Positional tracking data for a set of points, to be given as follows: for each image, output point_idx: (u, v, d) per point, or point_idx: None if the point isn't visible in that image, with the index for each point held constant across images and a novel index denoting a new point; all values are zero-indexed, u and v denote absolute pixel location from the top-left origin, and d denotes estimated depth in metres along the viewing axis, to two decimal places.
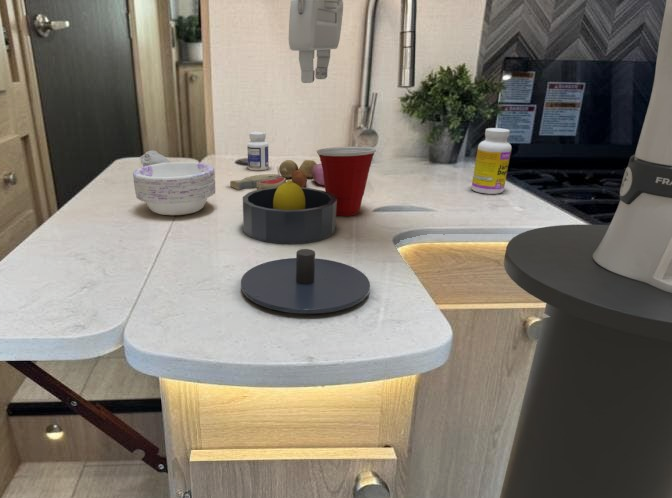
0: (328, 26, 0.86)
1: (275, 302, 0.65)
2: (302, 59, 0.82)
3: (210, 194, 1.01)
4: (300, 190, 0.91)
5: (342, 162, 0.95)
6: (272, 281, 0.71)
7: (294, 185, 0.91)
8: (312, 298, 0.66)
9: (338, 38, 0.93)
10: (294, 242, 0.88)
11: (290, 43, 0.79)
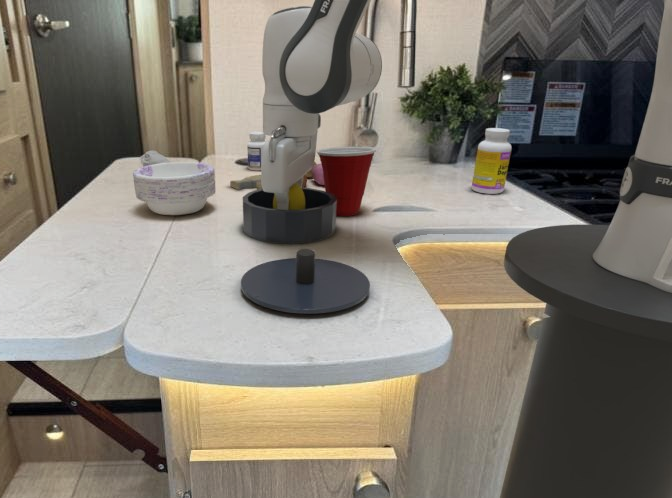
0: (301, 159, 0.90)
1: (275, 302, 0.65)
2: (277, 193, 0.87)
3: (210, 194, 1.01)
4: (300, 190, 0.91)
5: (342, 162, 0.95)
6: (272, 281, 0.71)
7: (294, 185, 0.91)
8: (312, 298, 0.66)
9: (313, 160, 0.97)
10: (294, 242, 0.88)
11: (262, 187, 0.83)
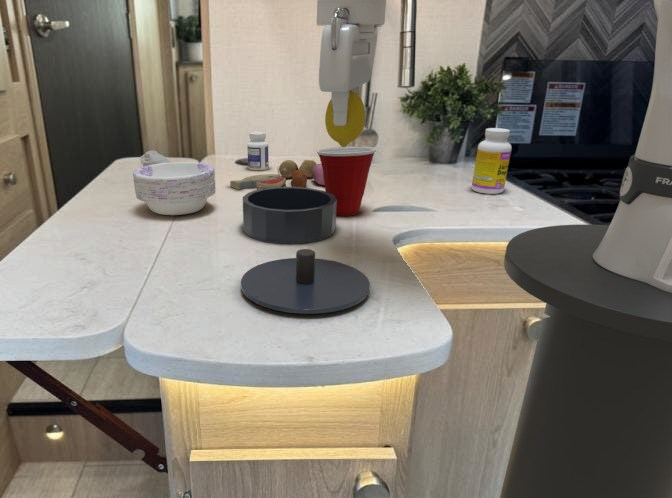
0: (362, 59, 0.73)
1: (275, 302, 0.65)
2: (335, 99, 0.71)
3: (210, 194, 1.01)
4: (360, 99, 0.74)
5: (342, 162, 0.95)
6: (272, 281, 0.71)
7: (353, 93, 0.74)
8: (312, 298, 0.66)
9: (371, 70, 0.81)
10: (294, 242, 0.88)
11: (321, 83, 0.66)
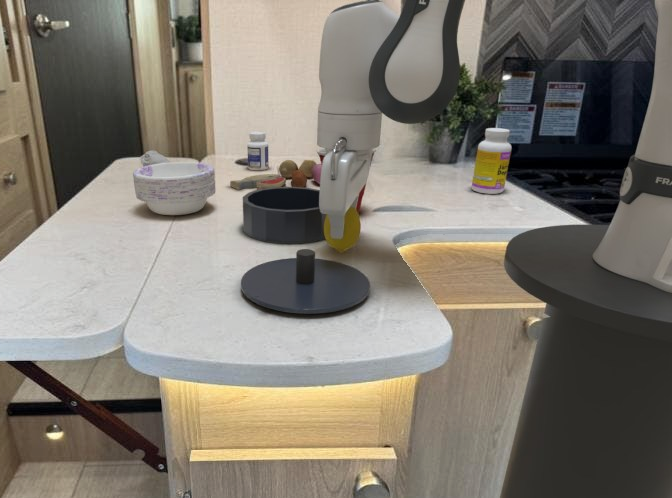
0: (359, 174, 0.79)
1: (275, 302, 0.65)
2: (332, 217, 0.75)
3: (210, 194, 1.01)
4: (356, 213, 0.80)
5: None
6: (272, 281, 0.71)
7: (349, 207, 0.80)
8: (312, 298, 0.66)
9: (367, 174, 0.87)
10: (294, 242, 0.88)
11: (321, 208, 0.72)
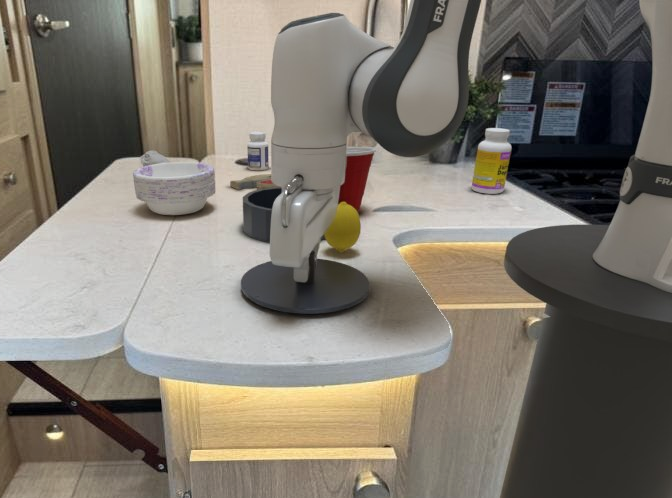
0: (322, 214, 0.67)
1: (275, 302, 0.65)
2: None
3: (210, 194, 1.01)
4: (356, 213, 0.80)
5: None
6: (272, 281, 0.71)
7: (349, 207, 0.80)
8: (312, 298, 0.66)
9: (335, 210, 0.75)
10: None
11: (272, 259, 0.60)
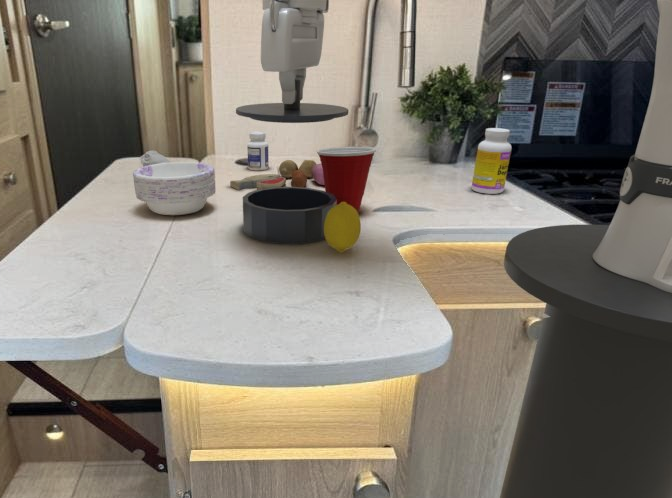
0: (307, 43, 0.78)
1: (265, 113, 0.75)
2: (282, 78, 0.76)
3: (210, 194, 1.01)
4: (356, 213, 0.80)
5: (342, 162, 0.95)
6: (263, 108, 0.81)
7: (349, 207, 0.80)
8: (297, 113, 0.76)
9: (319, 54, 0.85)
10: (294, 242, 0.88)
11: (262, 63, 0.70)
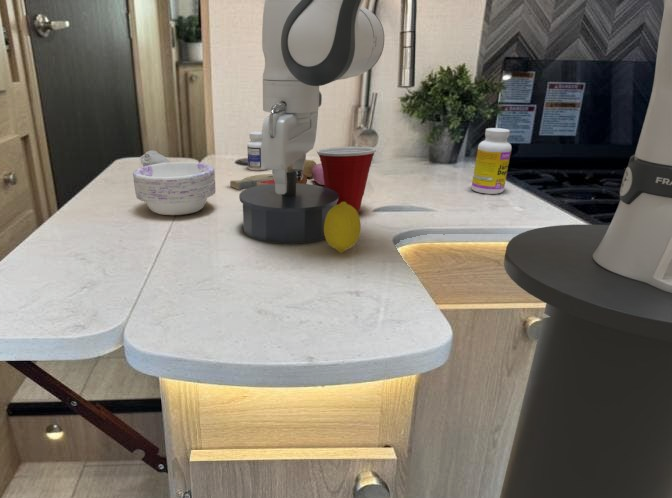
0: (302, 137, 0.88)
1: (265, 205, 0.86)
2: (275, 173, 0.85)
3: (210, 194, 1.01)
4: (356, 213, 0.80)
5: (342, 162, 0.95)
6: (263, 195, 0.92)
7: (349, 207, 0.80)
8: (293, 203, 0.87)
9: (313, 140, 0.96)
10: (294, 242, 0.88)
11: (262, 163, 0.81)
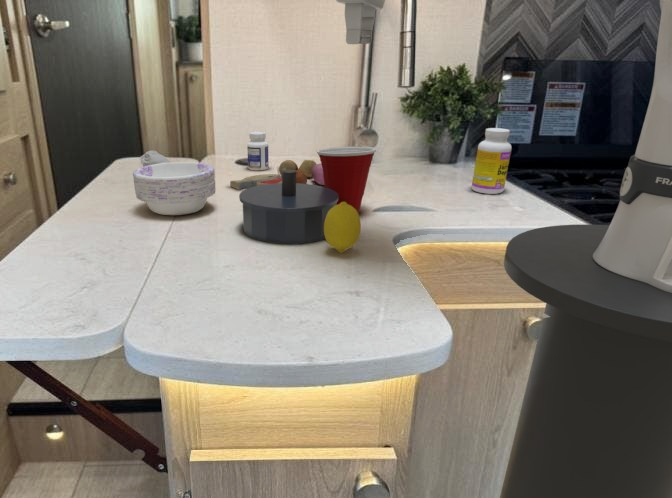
0: None
1: (265, 205, 0.86)
2: (348, 14, 0.69)
3: (210, 194, 1.01)
4: (356, 213, 0.80)
5: (342, 162, 0.95)
6: (263, 195, 0.92)
7: (349, 207, 0.80)
8: (293, 203, 0.87)
9: None
10: (294, 242, 0.88)
11: None
